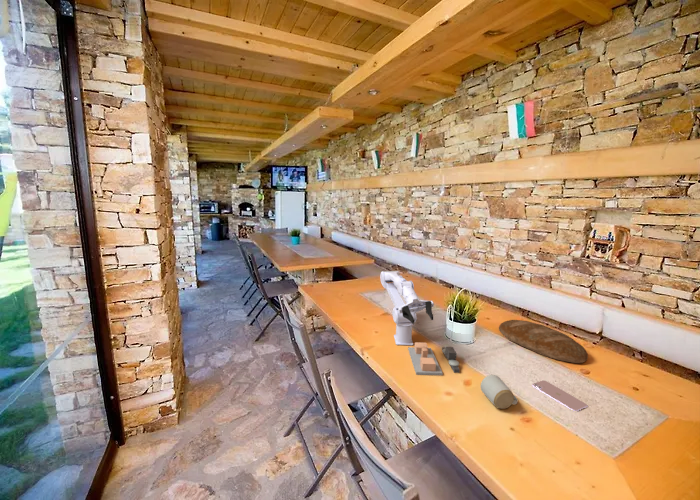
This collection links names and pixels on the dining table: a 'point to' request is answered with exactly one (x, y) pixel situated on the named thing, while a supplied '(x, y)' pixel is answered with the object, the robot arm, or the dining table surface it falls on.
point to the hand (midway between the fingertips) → (423, 320)
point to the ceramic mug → (498, 392)
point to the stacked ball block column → (451, 358)
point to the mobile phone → (559, 395)
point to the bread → (544, 340)
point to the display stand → (424, 360)
